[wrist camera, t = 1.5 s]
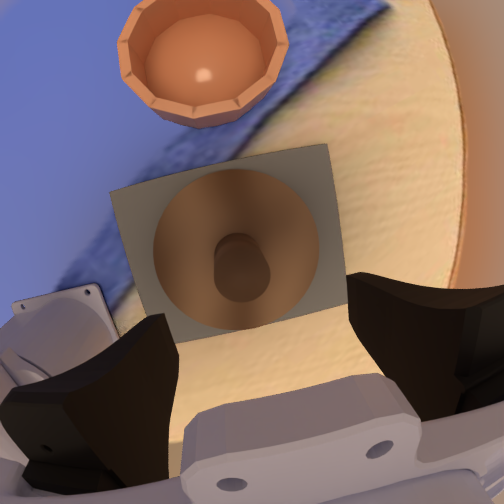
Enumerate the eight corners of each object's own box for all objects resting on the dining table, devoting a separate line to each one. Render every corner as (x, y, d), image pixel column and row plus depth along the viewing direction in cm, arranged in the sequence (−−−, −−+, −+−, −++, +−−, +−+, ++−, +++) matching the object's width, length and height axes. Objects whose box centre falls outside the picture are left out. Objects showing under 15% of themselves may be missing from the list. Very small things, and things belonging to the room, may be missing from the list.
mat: (159, 343, 23) (158, 346, 23) (111, 191, 20) (109, 191, 19) (346, 300, 24) (348, 303, 23) (324, 143, 20) (327, 143, 20)
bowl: (151, 142, 19) (131, 135, 14) (132, 29, 17) (112, -1, 12) (283, 114, 20) (302, 99, 15) (256, 4, 17) (266, -31, 12)
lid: (180, 336, 23) (174, 377, 18) (138, 191, 20) (114, 199, 15) (323, 303, 23) (348, 336, 18) (300, 155, 20) (325, 152, 15)
